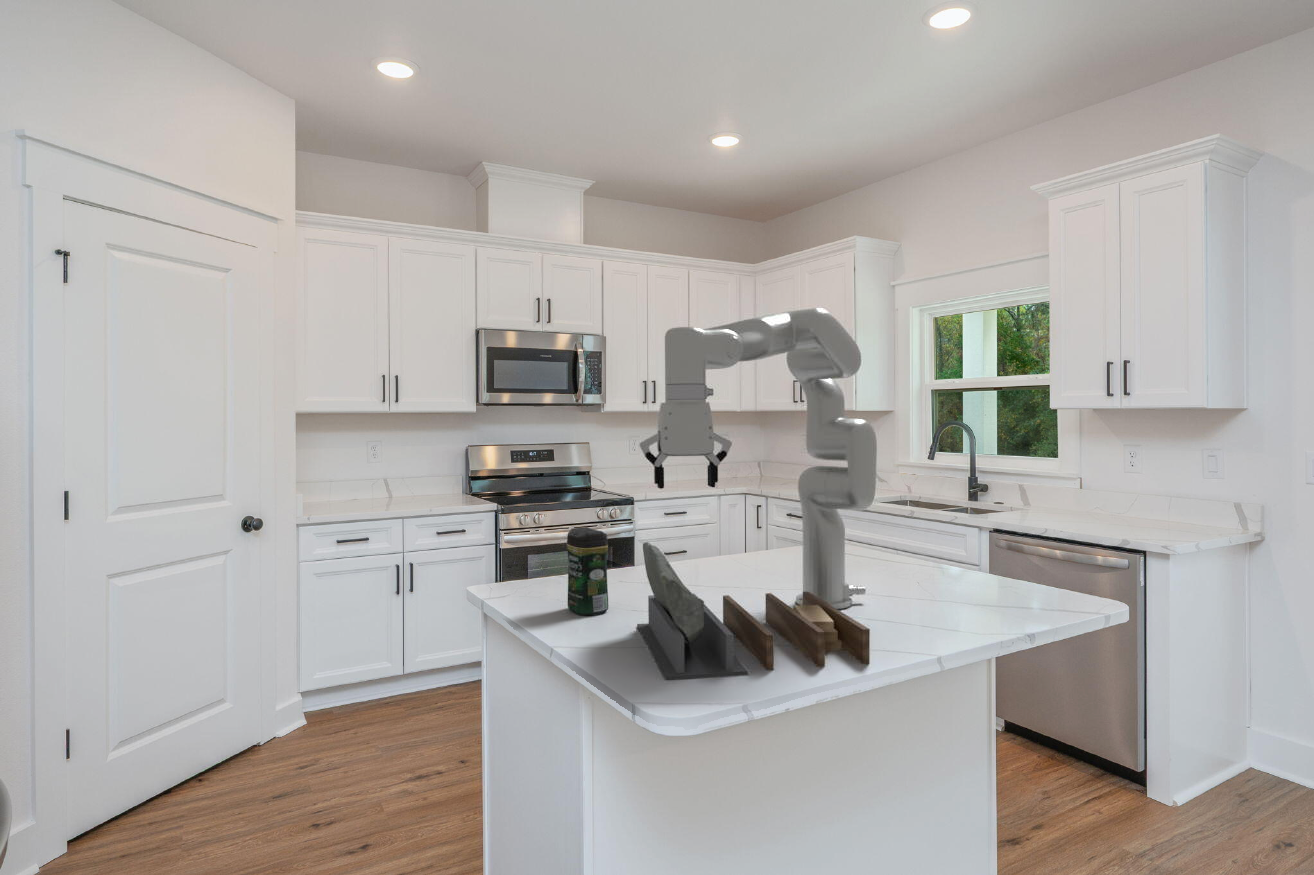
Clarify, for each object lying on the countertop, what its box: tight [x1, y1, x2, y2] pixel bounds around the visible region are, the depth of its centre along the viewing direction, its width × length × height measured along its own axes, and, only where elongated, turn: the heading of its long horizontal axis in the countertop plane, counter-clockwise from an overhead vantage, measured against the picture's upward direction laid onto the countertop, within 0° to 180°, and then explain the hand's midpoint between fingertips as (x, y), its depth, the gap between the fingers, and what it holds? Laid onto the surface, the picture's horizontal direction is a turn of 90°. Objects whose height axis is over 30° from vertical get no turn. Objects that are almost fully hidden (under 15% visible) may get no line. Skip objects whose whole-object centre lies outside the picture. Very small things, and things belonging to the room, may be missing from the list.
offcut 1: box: [793, 604, 834, 632], centre depth 144 cm, size 5×12×2 cm, turn 1°
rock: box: [642, 541, 705, 645], centre depth 139 cm, size 27×6×20 cm, turn 14°
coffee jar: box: [566, 526, 609, 616], centre depth 168 cm, size 10×8×19 cm
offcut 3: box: [825, 640, 843, 651], centre depth 144 cm, size 5×12×2 cm, turn 13°
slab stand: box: [636, 593, 749, 681], centre depth 140 cm, size 14×32×7 cm, turn 10°
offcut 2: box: [825, 629, 838, 643], centre depth 144 cm, size 5×12×2 cm, turn 6°
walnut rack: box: [722, 591, 871, 671], centre depth 143 cm, size 19×29×6 cm, turn 10°
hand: (686, 487), depth 139 cm, fingers open, 9 cm apart
